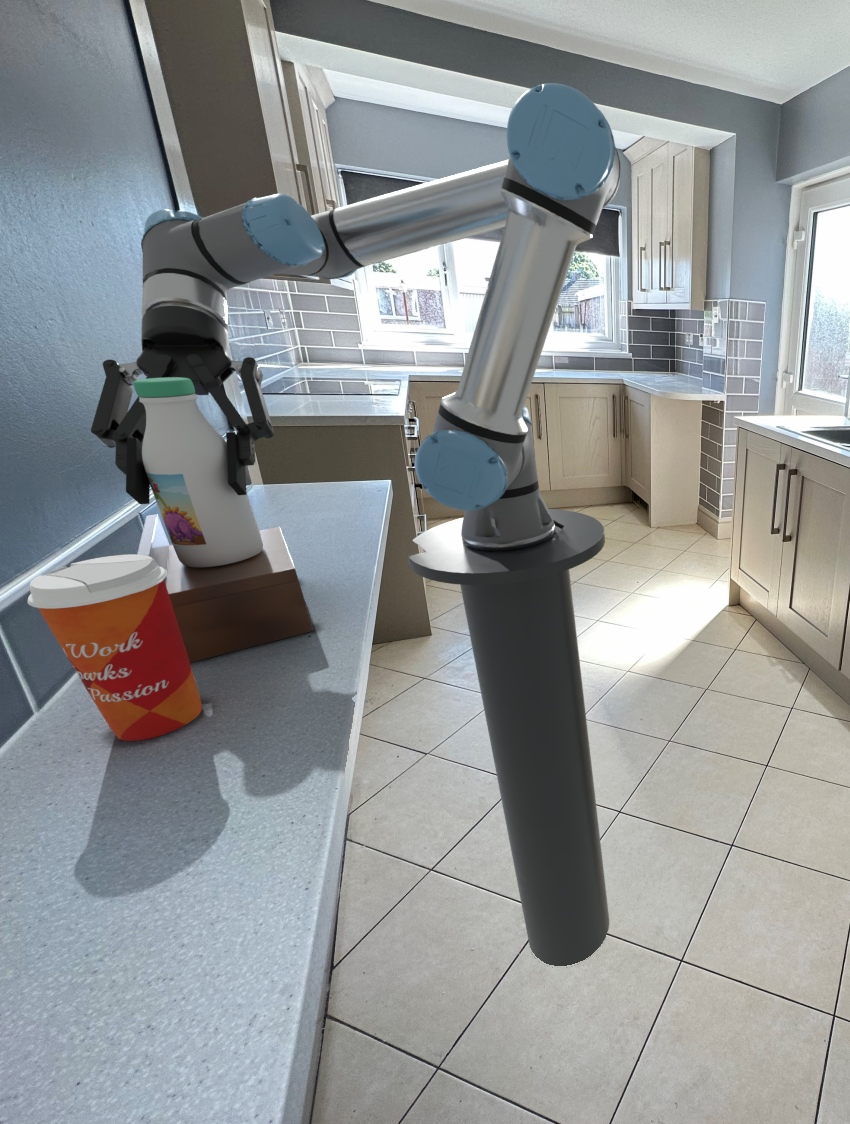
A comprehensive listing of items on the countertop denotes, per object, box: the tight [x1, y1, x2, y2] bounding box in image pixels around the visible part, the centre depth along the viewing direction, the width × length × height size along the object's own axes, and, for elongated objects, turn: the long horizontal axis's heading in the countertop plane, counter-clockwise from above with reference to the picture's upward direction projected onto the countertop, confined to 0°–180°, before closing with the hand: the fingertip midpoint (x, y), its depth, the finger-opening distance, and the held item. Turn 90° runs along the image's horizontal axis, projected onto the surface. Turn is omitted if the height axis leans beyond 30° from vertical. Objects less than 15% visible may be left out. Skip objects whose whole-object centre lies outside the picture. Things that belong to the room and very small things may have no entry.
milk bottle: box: [133, 377, 263, 567], centre depth 67 cm, size 8×8×20 cm
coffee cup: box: [27, 554, 203, 742], centre depth 53 cm, size 8×8×15 cm
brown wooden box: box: [137, 513, 315, 664], centre depth 72 cm, size 12×18×12 cm, turn 40°
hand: (189, 493), depth 65 cm, fingers closed on milk bottle, 8 cm apart
